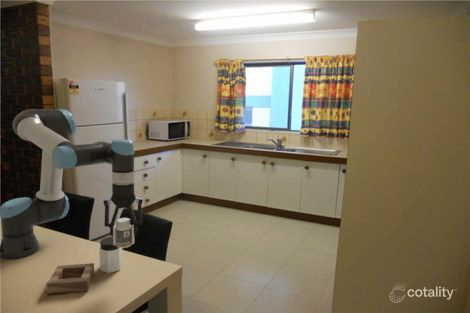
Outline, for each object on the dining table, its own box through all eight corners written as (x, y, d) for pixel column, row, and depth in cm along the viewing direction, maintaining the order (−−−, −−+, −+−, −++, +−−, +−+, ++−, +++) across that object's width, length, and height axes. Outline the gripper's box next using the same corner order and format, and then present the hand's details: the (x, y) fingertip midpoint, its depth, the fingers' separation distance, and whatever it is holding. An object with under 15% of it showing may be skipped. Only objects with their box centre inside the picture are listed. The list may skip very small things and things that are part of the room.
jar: (102, 275, 128) (101, 246, 127) (98, 266, 135) (97, 239, 133) (125, 269, 133) (124, 242, 131) (120, 261, 140) (119, 234, 138)
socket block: (58, 276, 126) (57, 265, 125) (94, 273, 129) (93, 263, 129) (47, 295, 114) (46, 284, 113) (87, 292, 117) (87, 280, 116)
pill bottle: (135, 245, 121) (134, 220, 119) (120, 250, 117) (120, 224, 115) (127, 240, 125) (127, 216, 123) (113, 245, 121) (112, 219, 119)
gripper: (93, 185, 111) (95, 249, 115) (149, 184, 115) (149, 246, 119) (97, 180, 118) (98, 240, 122) (150, 179, 123) (150, 237, 126)
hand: (124, 243), depth 121 cm, fingers closed on pill bottle, 6 cm apart
